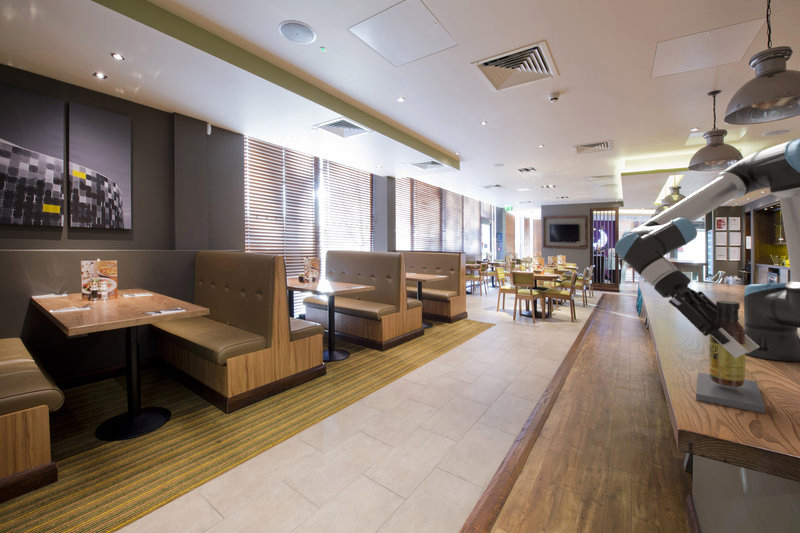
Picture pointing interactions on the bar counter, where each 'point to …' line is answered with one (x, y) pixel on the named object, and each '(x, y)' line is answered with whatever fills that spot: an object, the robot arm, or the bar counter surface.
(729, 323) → the sauce bottle
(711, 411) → the bar counter surface
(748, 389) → the gray rectangular mat
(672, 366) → the bar counter surface
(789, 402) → the bar counter surface
